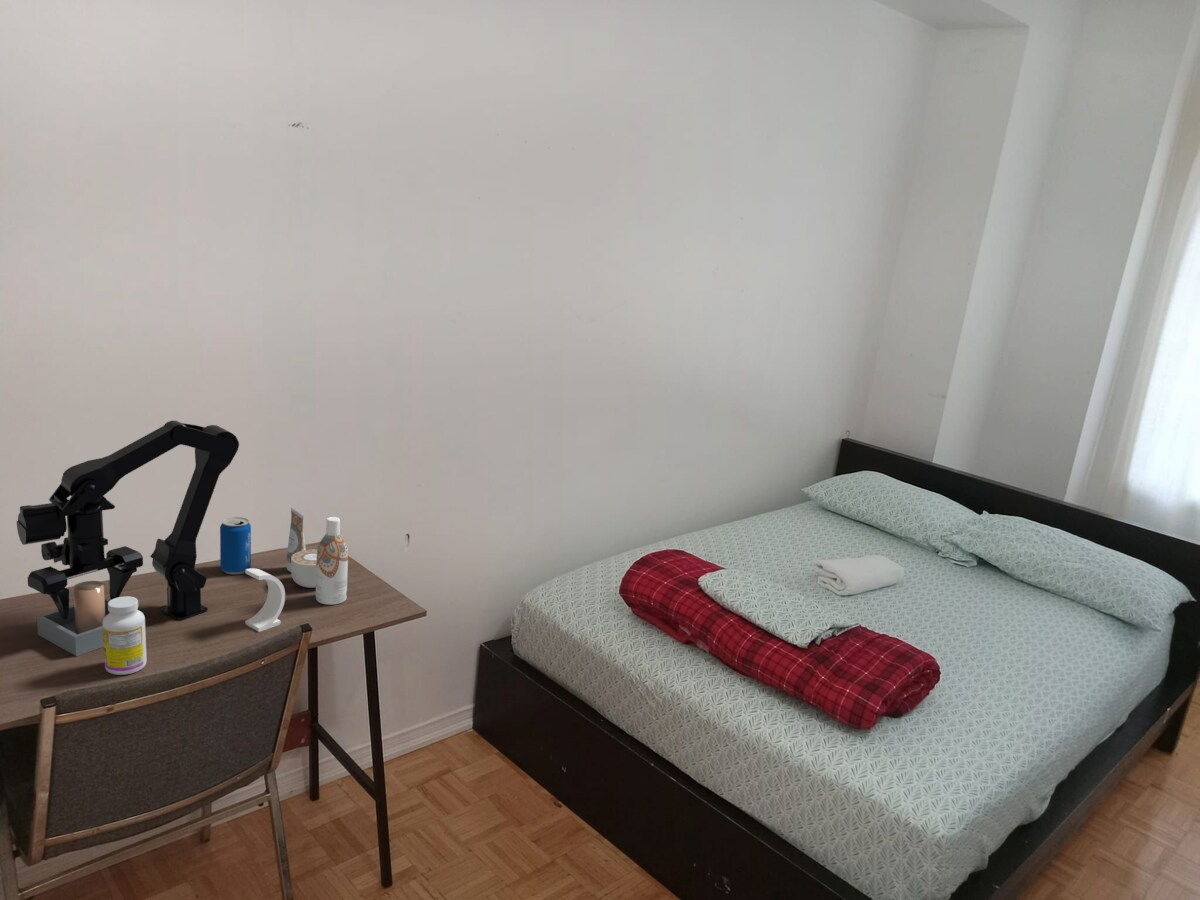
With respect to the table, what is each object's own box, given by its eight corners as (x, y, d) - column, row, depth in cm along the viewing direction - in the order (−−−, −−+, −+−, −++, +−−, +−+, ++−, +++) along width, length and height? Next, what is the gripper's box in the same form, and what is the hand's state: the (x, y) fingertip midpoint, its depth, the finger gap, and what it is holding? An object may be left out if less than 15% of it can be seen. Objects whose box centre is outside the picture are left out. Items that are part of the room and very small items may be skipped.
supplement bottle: (114, 657, 160) (111, 592, 157) (152, 658, 161) (150, 594, 158) (97, 675, 154) (94, 608, 151) (137, 677, 155) (134, 610, 151)
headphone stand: (245, 624, 177) (245, 569, 174) (271, 615, 182) (271, 561, 179) (258, 632, 175) (258, 576, 172) (285, 622, 180) (285, 568, 177)
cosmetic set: (271, 568, 205) (271, 492, 200) (309, 561, 211) (310, 487, 206) (317, 609, 187) (319, 526, 182) (357, 600, 193) (360, 520, 188)
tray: (142, 632, 170) (141, 614, 169) (76, 656, 159) (75, 637, 158) (103, 613, 176) (102, 595, 175) (38, 634, 165) (36, 616, 164)
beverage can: (240, 577, 198) (240, 528, 195) (214, 573, 199) (213, 523, 196) (256, 567, 204) (256, 519, 201) (231, 563, 205) (231, 514, 202)
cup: (111, 629, 168) (109, 585, 166) (85, 638, 164) (83, 593, 162) (96, 621, 171) (94, 578, 169) (70, 630, 167) (67, 586, 164)
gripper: (109, 511, 174) (112, 584, 178) (8, 535, 158) (14, 614, 162) (143, 525, 169) (146, 600, 173) (42, 551, 153) (47, 632, 157)
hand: (89, 610), depth 166 cm, fingers open, 9 cm apart
